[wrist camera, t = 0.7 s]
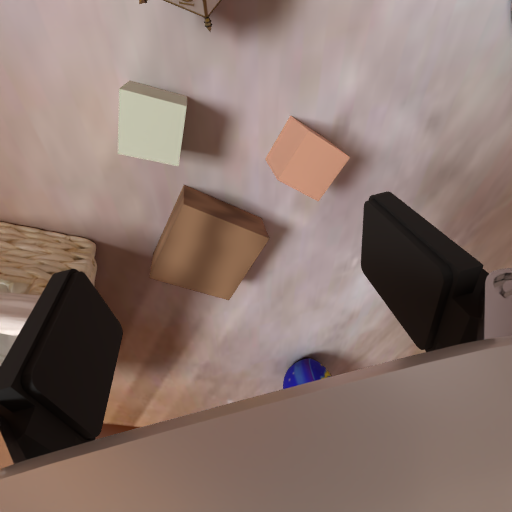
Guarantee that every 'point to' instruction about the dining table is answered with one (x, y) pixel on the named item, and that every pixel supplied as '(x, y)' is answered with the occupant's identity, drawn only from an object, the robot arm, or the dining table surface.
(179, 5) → the game die
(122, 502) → the robot arm
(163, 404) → the dining table surface
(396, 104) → the dining table surface
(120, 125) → the sage cube
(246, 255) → the walnut base block
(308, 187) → the terracotta block
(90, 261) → the storage basket
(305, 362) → the ornament
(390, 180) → the dining table surface
